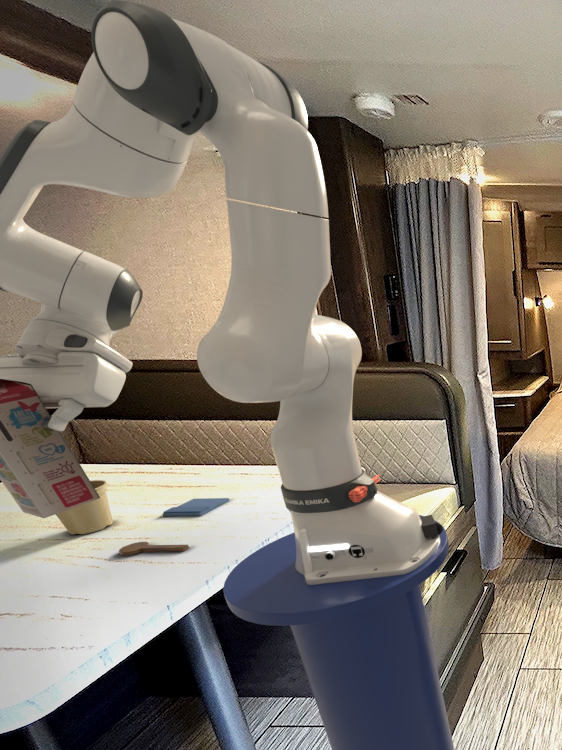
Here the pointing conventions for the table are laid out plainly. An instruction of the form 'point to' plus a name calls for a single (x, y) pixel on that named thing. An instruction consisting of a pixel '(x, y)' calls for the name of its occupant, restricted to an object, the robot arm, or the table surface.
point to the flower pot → (88, 513)
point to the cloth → (195, 507)
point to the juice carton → (37, 456)
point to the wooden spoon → (149, 548)
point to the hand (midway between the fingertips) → (20, 430)
